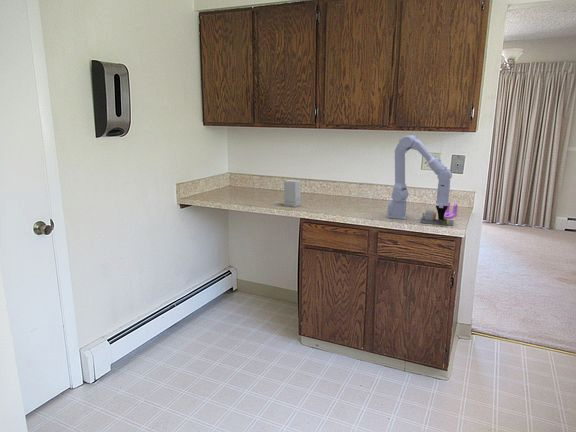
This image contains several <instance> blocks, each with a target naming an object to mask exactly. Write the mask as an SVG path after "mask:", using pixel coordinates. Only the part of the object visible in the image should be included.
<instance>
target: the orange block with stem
mask: <svg viewBox="0 0 576 432" xmlns="http://www.w3.org/2000/svg"><path fill="white" fill-rule="evenodd" d="M425 213H426V212H422V215H421V218H422V217H423V218H425ZM437 214H438V212H437V211H436V212H435V211H434V215H433V219H437Z"/></svg>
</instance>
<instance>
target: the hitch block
mask: <svg viewBox="0 0 576 432" xmlns="http://www.w3.org/2000/svg"><path fill="white" fill-rule="evenodd" d="M434 212H435V210H430V209H426V210H425V212H424V213H425V218H422V217H420V218H421V219H420V221H421V220H425V221H442V220H439V219H438V218H436V219H433V215H434Z"/></svg>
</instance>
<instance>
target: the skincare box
mask: <svg viewBox="0 0 576 432" xmlns="http://www.w3.org/2000/svg"><path fill="white" fill-rule="evenodd" d="M283 193H284V195H283V197H284V199H283V200H284V202H283V203H284V207H290V206H291V207H290V208H297V206H298V207H300V206H302V202H301V201H302V198H301V196H302V195H301V193H302V192H301V180H297V179H287V180H283Z"/></svg>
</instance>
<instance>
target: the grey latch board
mask: <svg viewBox="0 0 576 432" xmlns="http://www.w3.org/2000/svg"><path fill="white" fill-rule="evenodd" d="M421 218H423V217H422V216H421ZM444 218H447V217H444ZM448 220H449V223H445V222H444V221H425V220H421V219H420V221H419V223H420V224H428V225H436V226H437V225H439V226H448V225H449V226H450V227H454V220H453V219H448Z"/></svg>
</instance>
